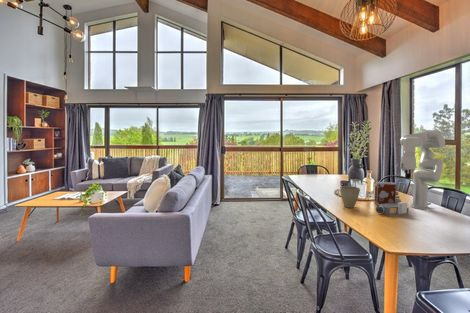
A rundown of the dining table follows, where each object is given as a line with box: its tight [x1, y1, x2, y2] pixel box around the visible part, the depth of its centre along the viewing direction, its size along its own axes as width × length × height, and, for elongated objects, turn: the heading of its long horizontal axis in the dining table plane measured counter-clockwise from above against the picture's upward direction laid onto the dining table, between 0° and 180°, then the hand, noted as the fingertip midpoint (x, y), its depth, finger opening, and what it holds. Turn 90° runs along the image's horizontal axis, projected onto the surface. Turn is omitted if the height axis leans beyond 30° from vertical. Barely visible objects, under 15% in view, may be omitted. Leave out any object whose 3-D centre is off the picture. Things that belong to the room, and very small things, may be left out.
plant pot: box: [340, 185, 361, 209], centre depth 209 cm, size 15×15×16 cm
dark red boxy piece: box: [374, 181, 402, 206], centre depth 211 cm, size 9×19×20 cm, turn 78°
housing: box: [375, 203, 409, 217], centre depth 192 cm, size 21×11×7 cm, turn 104°
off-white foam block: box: [398, 201, 408, 214], centre depth 188 cm, size 7×2×8 cm, turn 104°
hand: (407, 178), depth 188 cm, fingers closed
